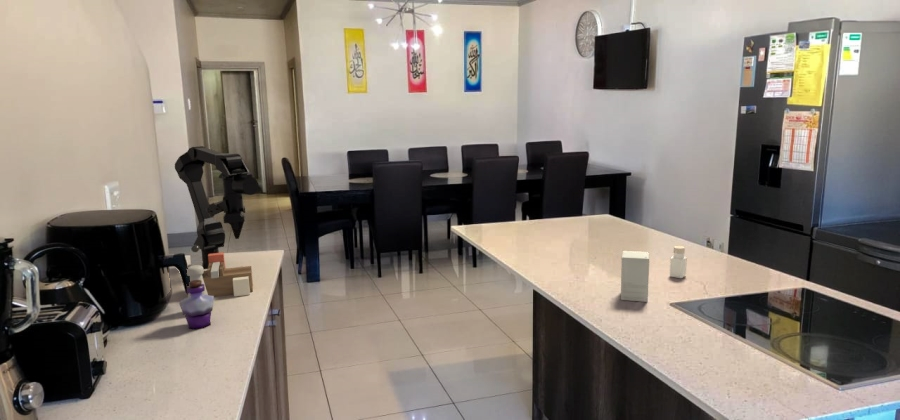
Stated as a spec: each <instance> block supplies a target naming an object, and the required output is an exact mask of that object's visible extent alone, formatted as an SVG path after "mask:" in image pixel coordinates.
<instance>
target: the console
mask: <svg viewBox="0 0 900 420" xmlns="http://www.w3.org/2000/svg"><path fill="white" fill-rule="evenodd" d="M211 268H212V263H209V266H208V268H206V269H207V270H204V273H203V280H204V283H205V287H206V290H207V293H208V295H210V296H214V297H219V296H229V295H234V289H233V278H238V277H247V276H249V287H250V293H253V292H254V291H253V290H254V283H253V282H254V281H253V272H252V265H246V266H238V267H237V266H236V267H227V268H226V267H225V269H224V262H221V264H220V273H219V278H211Z"/></svg>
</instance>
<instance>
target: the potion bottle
mask: <svg viewBox="0 0 900 420" xmlns="http://www.w3.org/2000/svg"><path fill="white" fill-rule="evenodd" d="M201 282H202V281H201V280H193V281H190V282H189V286H187V285H186V293H187V294H188V293H190V295H191V296H190V297H188V296H187V297H185V298H182V299H181V300H180V302H179V306H180V310H181V311H182V314H183V315H184V317H185V320H186V323H187V325H188V329H190V330H194V331H195V330H201V329H205V328H208V327H210V326H212V325H211V323H212V322H211V317H212V312H213V307H214V299H215V296H210V295H202V292H203V291H205V287H204V284H201Z"/></svg>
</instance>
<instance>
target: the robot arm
mask: <svg viewBox="0 0 900 420" xmlns="http://www.w3.org/2000/svg"><path fill="white" fill-rule="evenodd" d="M206 163H207V164H209V165H213V166H215V169H216V170H217V171H218V172H220V174H219V175H218V179H221V180H222V181H221V182H222V190H223V196H222V199H221V200H219V201H216V202H213V203H209V200H208V197H207V193H206V191H205V187H204V184H203V181H202V178H203V174H204V169H203V168H204V166H205V165H206ZM174 169H175V172H176V173H177V176H178V178H179V180H182V182H184V183H185V184H186V186H187V189H188V193H189V196H190V199H191V202H192V205H193V208H194V212H195V214H196V215H195V216H196V219H197V221H198V227H197V230H196V233H197V237H196V239H195V241H194V243H193V245H198V246H199V247H200V249H201V253H202V267H203V269H208V266H209V260H208V254H213V253H220V248H224V247H225V242H226V232H225V230H224V226H223V224H229V225H230V227H231V229H232V233H233V235H234V239H236V240H239V238H240V235H241V232H242V230H243V227H244V224H245V223H244V222H245V219H246V215H245V214H246V206H245V205H244V198H243V197H244V195H249V196H252V195H255V194H256V193H257V192H258V190H259V182H258V180H257V179H256V177H253V174H252V173H251V172H250V170H249V167H248V166H247V165H246V163H245V161H244V160H243V157H242V156H241V154H239V153H234V152H233V153H231V152H230V153H228V152H227V153H223V152H219V151H216V150H213V149H210V148H207V147H206V146H203V145H199V146H191V147H190V148H188V149H187V151H186V152H184V153H183V154H181V155H180V156H178V159H176V161H175V162H174ZM220 213H223V214H224V215H223V224H222V222H221V221H217V220H216V219H215V218H214V217H215V216H216V215H218V214H220Z"/></svg>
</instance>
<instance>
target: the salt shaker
mask: <svg viewBox="0 0 900 420" xmlns="http://www.w3.org/2000/svg"><path fill="white" fill-rule="evenodd" d="M187 268H188V269H187ZM187 268H186V270H187V273H186V275H187V276H190V281H193V280H201V281H202V282H201V284H204V287H205V283H204V280H203V277H202V274H203V273H204V271H205V270H204V269H205V268H203V267H202V266H201V265H193V266H191V265H190V266H188V267H187ZM202 295H208V293H207V290H206V287H205V291H203V292H202ZM190 296H191V295H190V293H187V298H188V297H190Z"/></svg>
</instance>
